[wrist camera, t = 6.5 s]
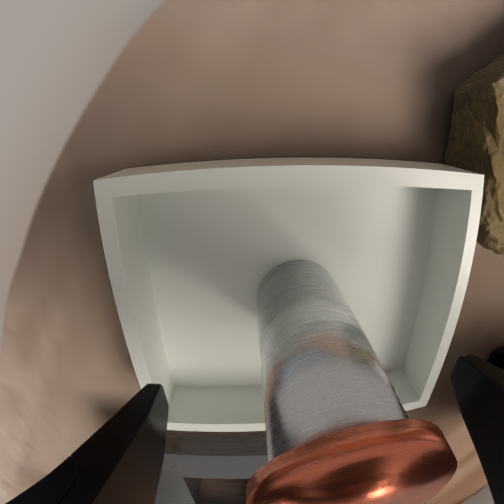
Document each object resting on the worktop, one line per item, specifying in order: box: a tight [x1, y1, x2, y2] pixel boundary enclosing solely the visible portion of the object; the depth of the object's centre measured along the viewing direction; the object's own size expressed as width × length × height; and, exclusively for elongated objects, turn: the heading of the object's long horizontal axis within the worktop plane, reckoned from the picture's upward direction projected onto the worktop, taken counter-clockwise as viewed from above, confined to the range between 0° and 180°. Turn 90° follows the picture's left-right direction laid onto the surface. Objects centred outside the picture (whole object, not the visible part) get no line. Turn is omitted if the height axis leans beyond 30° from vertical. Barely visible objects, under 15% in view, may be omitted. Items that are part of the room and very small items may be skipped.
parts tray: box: [93, 157, 484, 432], centre depth 12 cm, size 13×11×3 cm
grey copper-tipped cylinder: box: [246, 260, 457, 504], centre depth 9 cm, size 4×4×9 cm
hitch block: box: [155, 430, 268, 504], centre depth 17 cm, size 12×10×3 cm
